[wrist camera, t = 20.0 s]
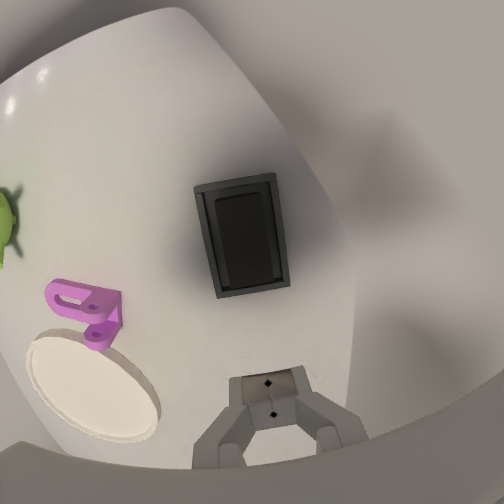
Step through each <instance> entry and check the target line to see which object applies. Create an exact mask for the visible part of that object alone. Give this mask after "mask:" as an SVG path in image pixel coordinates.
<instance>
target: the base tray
mask: <svg viewBox="0 0 504 504" xmlns="http://www.w3.org/2000/svg"><path fill="white" fill-rule="evenodd" d="M254 192H259V193H260V194H261V195H262V202H263V208H264V215H265V221H266V228H267V235H268V241H269V248H270V255H271V262H272V269H273V276H274V281H273V282H268V283H262V284H256V285H251V286H245V287H239V288H233V289H231V286H230V281H229V276H228V271H227V266H226V262H225V257H224V251H223V246H222V241H221V236H220V231H219V226H218V221H217V215H216V210H215V205H214V202H215V200H216V199H219V198H224V197H230V196H236V195H241V194H247V193H254ZM194 193H195V198H196V204H197V209H198V214H199V219H200V224H201V229H202V233H203V238H204V243H205V248H206V252H207V257H208V261H209V266H210V270H211V275H212V279H213V283H214V288H215V292H216V296H217V299H219V298H225V297H231V296H237V295H243V294H249V293H255V292H261V291H266V290H272V289H278V288H283V287H288V286H291V285H290V277H289V269H288V261H287V252H286V245H285V237H284V229H283V222H282V215H281V207H280V200H279V193H278V187H277V181H276V174H275V173H268V174H261V175H255V176H248V177H242V178H236V179H231V180H225V181H219V182H214V183H209V184H204V185H198V186H195V187H194Z"/></svg>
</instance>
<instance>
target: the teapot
mask: <svg viewBox="0 0 504 504" xmlns="http://www.w3.org/2000/svg"><path fill="white" fill-rule="evenodd" d="M15 223H16V217H15V215H14V214H12V212H11V209H10V206H9V203H8V201H7V200H6V197H5V194H3V193H1V192H0V269H2V267H3V258H4V248H5V246H6V244H7V243H8V241H9V238H10V235H11V231H12V225H14V224H15Z"/></svg>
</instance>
